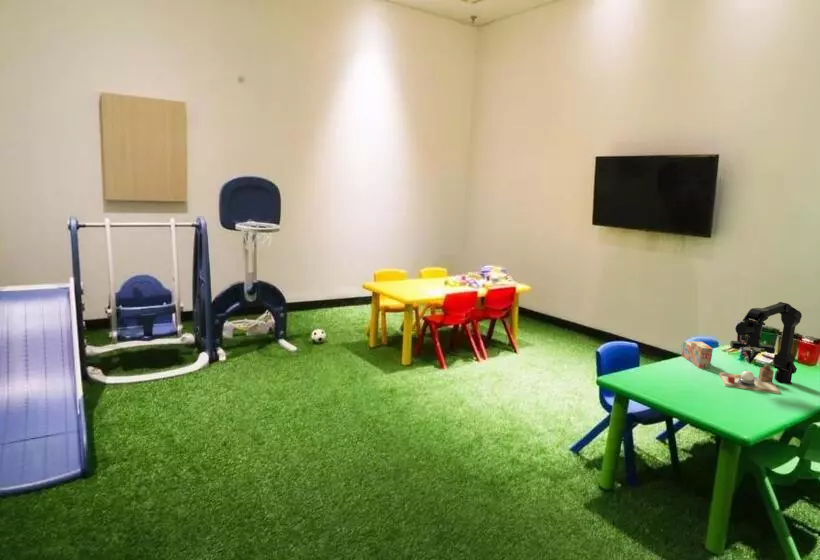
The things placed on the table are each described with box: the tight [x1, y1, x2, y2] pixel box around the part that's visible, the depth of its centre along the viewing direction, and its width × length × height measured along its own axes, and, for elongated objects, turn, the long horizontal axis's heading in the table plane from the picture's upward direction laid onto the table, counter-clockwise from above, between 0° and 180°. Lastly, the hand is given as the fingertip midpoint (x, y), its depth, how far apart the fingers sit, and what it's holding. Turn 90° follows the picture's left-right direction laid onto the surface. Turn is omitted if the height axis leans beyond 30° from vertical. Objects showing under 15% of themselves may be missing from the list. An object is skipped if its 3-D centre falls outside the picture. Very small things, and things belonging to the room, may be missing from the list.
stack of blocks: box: [681, 340, 714, 370], centre depth 314 cm, size 21×6×12 cm, turn 178°
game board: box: [718, 371, 781, 395], centre depth 282 cm, size 24×18×4 cm
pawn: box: [758, 364, 775, 382], centre depth 284 cm, size 5×5×8 cm
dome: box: [739, 370, 755, 384], centre depth 277 cm, size 7×7×6 cm
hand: (749, 362), depth 276 cm, fingers closed
